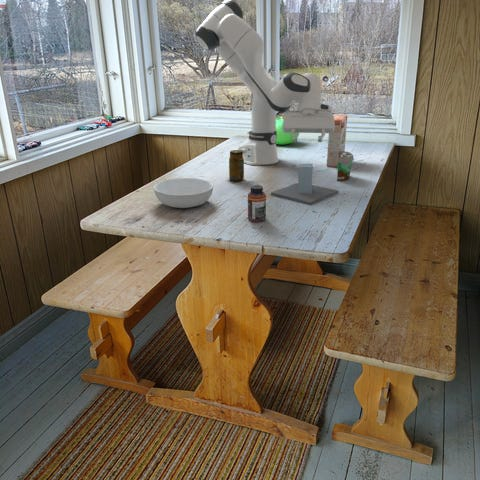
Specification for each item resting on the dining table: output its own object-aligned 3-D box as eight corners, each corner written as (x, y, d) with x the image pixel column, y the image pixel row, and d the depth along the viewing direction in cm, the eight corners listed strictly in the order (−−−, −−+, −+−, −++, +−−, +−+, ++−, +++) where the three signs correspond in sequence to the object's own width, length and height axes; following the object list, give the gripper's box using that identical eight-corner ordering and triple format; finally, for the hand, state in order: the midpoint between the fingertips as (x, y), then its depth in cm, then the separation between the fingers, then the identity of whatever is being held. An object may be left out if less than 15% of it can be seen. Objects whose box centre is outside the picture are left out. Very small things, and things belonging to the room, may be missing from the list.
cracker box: (339, 167, 224) (342, 119, 216) (326, 166, 226) (328, 119, 218) (344, 160, 236) (348, 114, 228) (332, 159, 238) (334, 114, 230)
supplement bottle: (246, 216, 169) (246, 184, 164) (264, 215, 169) (264, 183, 165) (248, 223, 163) (248, 189, 159) (267, 222, 164) (267, 188, 159)
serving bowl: (190, 218, 169) (189, 198, 166) (143, 207, 179) (141, 189, 176) (224, 200, 185) (224, 182, 182) (179, 192, 195) (178, 174, 192)
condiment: (241, 176, 213) (241, 148, 209) (249, 182, 206) (248, 153, 201) (225, 178, 211) (224, 150, 206) (232, 184, 204) (231, 154, 199)
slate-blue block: (298, 193, 188) (298, 166, 184) (298, 189, 193) (299, 163, 189) (311, 193, 188) (312, 167, 184) (311, 189, 192) (312, 163, 188)
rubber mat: (270, 194, 190) (270, 192, 190) (299, 184, 202) (299, 181, 202) (310, 205, 179) (310, 202, 178) (338, 193, 191) (338, 190, 190)
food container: (352, 182, 203) (354, 158, 199) (336, 182, 204) (338, 157, 200) (352, 174, 214) (354, 151, 210) (337, 173, 215) (339, 150, 211)
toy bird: (302, 142, 273) (303, 114, 268) (292, 149, 259) (293, 119, 254) (271, 140, 280) (271, 112, 275) (260, 146, 266) (260, 117, 260)
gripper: (282, 105, 198) (280, 135, 193) (335, 106, 196) (334, 136, 191) (283, 115, 204) (280, 144, 199) (334, 116, 201) (333, 145, 196)
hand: (307, 140), depth 195 cm, fingers open, 8 cm apart
